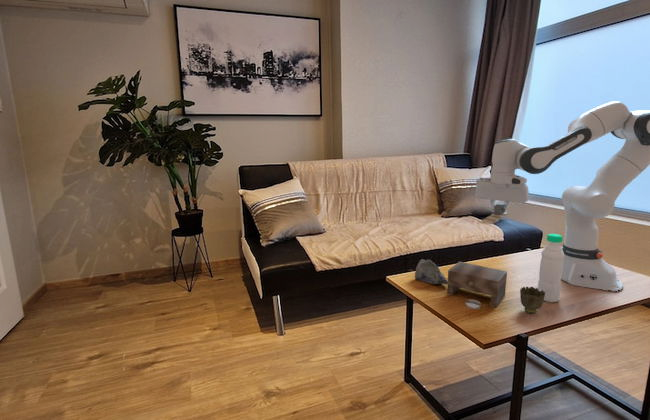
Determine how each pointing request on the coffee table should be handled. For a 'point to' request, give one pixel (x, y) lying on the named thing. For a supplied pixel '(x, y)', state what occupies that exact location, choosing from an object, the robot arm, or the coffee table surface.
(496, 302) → the brown bridge block
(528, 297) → the cup
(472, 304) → the steel disc
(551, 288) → the water bottle
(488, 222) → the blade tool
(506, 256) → the coffee table surface
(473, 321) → the coffee table surface
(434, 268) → the mineral rock
